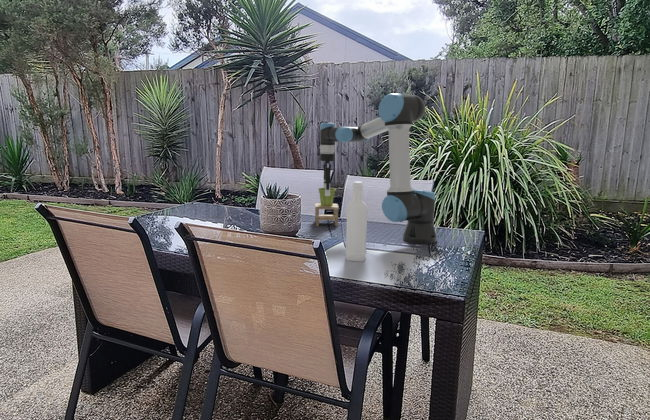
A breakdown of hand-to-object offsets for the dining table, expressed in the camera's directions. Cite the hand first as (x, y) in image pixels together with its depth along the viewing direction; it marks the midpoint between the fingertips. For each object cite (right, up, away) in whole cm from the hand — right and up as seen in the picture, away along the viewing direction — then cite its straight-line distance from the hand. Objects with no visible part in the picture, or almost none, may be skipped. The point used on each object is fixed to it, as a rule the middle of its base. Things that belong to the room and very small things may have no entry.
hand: (326, 194), depth 227 cm
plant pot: (0, -6, +1) cm, 6 cm away
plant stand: (0, -16, +3) cm, 16 cm away
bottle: (+11, -28, -58) cm, 66 cm away
